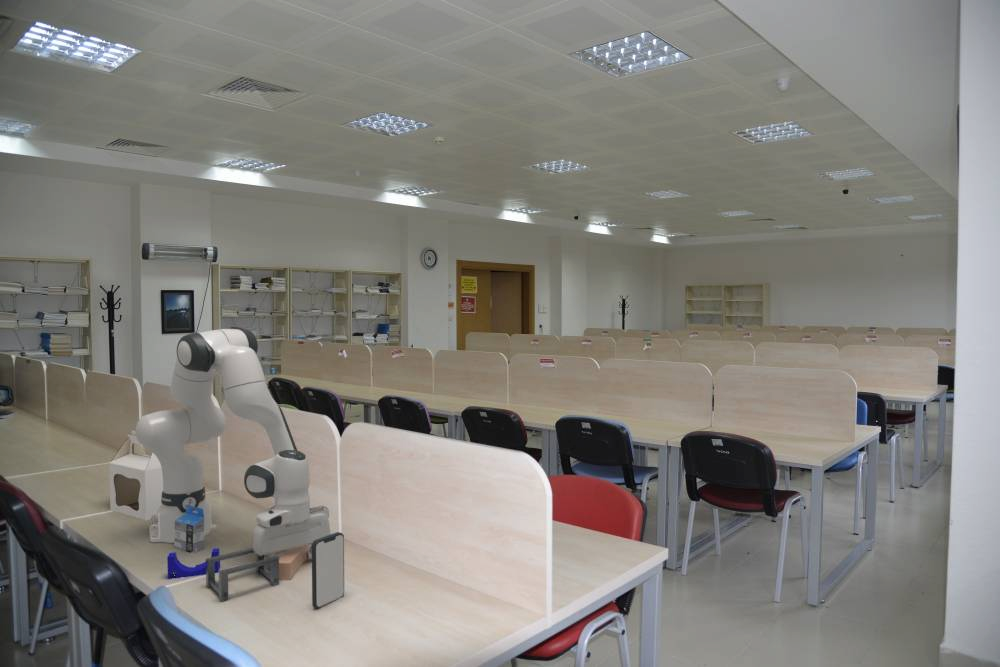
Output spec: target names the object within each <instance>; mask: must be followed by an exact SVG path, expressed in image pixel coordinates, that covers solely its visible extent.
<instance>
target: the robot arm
mask: <svg viewBox="0 0 1000 667" xmlns="http://www.w3.org/2000/svg"><path fill="white" fill-rule="evenodd" d="M258 349H259V344H258V339H257V337H256V335H255V333H254V332H252V331H251V330H250V329H246V328H242V327H237V328H219V329H218V328H217V329H214V330H212V329H211V330H206V331H201V332H192V333H191V332H190V333H188V334H185V335H183V336H182V337H180V339H179V340H178V342H177V346H176V356H177V358H176V361H175V365H174V368H173V373H172V377H171V383H170V387H169V392H170V395H171V397H172V398H173V399H174V401H176V402H177V403H179V404H181V405H183V406H184V407H181V408H176V409H175V408H174V409H165V410H158V411H155V412H151V413H147V414H145V415H142V416H141V417H140V418H139V420H138V422H137V423H136V425H135V429H134V430H135V433H136V437H137V440H138V441H139V443H140V445H141V446H142V447H143V448H146V449H147V450H149V451H150V452H151V453H152V452H153V453H154V454H155V455H156V457H157V458H158V460H159V462H160V464H161V467H162V475H163V491H162V495H161V503H162V504H161V506H160V507H159V509H158V510H157V515H151V519H150V520H151V521H150V522H151V523H152V524H150V525H149V527H148V531H149V533H148V534H149V543H168V544H169V543H170V544H171V543H173V544H174V540H175V520H177V519H178V518H180V517H181V516H182V515H183V514H185V513H186V508H185V505H189V506H194V507H198V508H202V509H203V512H204V537H205V536H206V535H208V534H209V533H210V532H211V531H212V530H214V529H215V528H217V524H214V523H212V511H211V503H209V502H208V501H206V487H205V486H204V464H203V463H202V461H201V460H200V459H199V458H198V457H195V456H193V455H191V454H188V453H186V451H185V445H190V444H196V443H202V442H203V443H204V442H208V441H210V440H213V439H217V438H219V437H221V436H222V435H223V433H224V431H225V430H226V428H227V427H226V426H227V418H226V416H225V414H224V412H223V411H222V409H220V408H219V407H217V406H216V405H215V403H214V402H213V399H212V390H213V385H214V380H215V376H216V371H217V372H218V373H219V375H220V378H221V384H222V389H223V394H224V398H225V402H226V405H227V407H228V409H229V411H230V412H231V413H233V414H234V415H235V416H237V417H238V418H241V419H245V420H249V421H251V422H255V423H256V424H259V425H260V426H262V427H263V429H265V431H266V434H267V436H268V438H269V441H270V444H271V446H272V449H273V452H274V456H272V457H270V458H268V459H266V460H262V461H260V462H256V463H253V464H252V465H250V466H248V468H247V469H246V471H245V473H244V477H243V478H244V479H243V483H244V484H243V486H244V488H245V490H246V492H247V493H248V494H249V495H250V496H251V497H253V498H255V499H266V498H268V499H269V498H274V505H272V506H271V507H269V508H267V509H266V510H263V511H262V512H260V513H258V514H257V515H256V522H257V523H258V524H257V525H256V526H255V528H254V530H253V537H252V538H253V541H252V548H253V550H254V553H255V554H256V553H257V554H258V555H260V556H262V555H264V556H266V555H267V557H268V558H272V557H276V556H277V554H276V553H278V552H281V551H287V550H288V549H290V548H294V547H298V546H302V545H306V544H310V549H309V551H307V552H306V558H307V559H306V560H308V561H309V560H312V543H313V542H314V541H315V540H316V539H319V538H322V537H325V536H328V535H331V528H330V522H329V519H330V518H329V517H330V509H329V508H328V507H327V506H325V505H319V506H315V507H311V504H310V502H311V501H310V500H311V499H310V498H311V497H310V493H309V488H310V467H309V466H310V465H309V462H308V461H309V460H308V458H307V456H306V454H305V453H304V452H302V451H300V450H298V448H297V446H296V443H295V441H294V437H293V435H292V433H291V430H290V426H289V424H288V422H287V419H286V416H285V414H284V412H283V410H282V408H281V406H280V404H279V403H278V402H277V401H276V400H275V399H274V398H273V395H272V394H271V393H270V389H269V388H268V384H267V380H266V377H265V373H264V370H263V367H262V365H261V362H260V360H259V357H258V355H257V353H258V351H259V350H258ZM192 512H195V513H198V512H197V511H195V510H192ZM153 523H154V524H153Z"/></svg>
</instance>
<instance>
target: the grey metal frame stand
mask: <svg viewBox="0 0 1000 667" xmlns="http://www.w3.org/2000/svg"><path fill="white" fill-rule="evenodd" d="M254 553H255V552H254V550H253V547H249V548H246V549H241V550H238V551H237V550H236V551H233V552H228V553H224V554H219V556H215V557H211V556H210V557H207V558H205V562H206V575H205V578H206V579H205V580H206V581H205V583H206V584H205V585H206V586H205V587H206V588H208V589H210V588H213V589H214V590H215V591H216V593H218V596H219V597H218V598H219V599H218V600H219V602H221V603H222V602H226V601H229V575H231V574H234V573H238V572H239V573H240V572H243V571H246V570H250V569H255V572H256V573H257V574H262V575H264V576H265V577H266V578H267V579H269V580H270V586H272V587H276V586H279V585H280V580H279V558H280V557H278V556H277V555H276V556H273V557H272V558H269V557H268V558H265V555H262V556H260V555H258V554H257V553H255V561H254V562H249V563H243V564H241V565H237V566H233V567H229V568H224V569H221V570H220V569H219V572H218V582H217V581H216V573H215V562H217V561H220V562H222V561H225V560H229V559H234V558H237V557H241V556H245V555H249V554H250V555H251V554H254ZM269 564H270V565H269ZM266 565H269V566H270V567H269V568H270V569H267V568H266V567H265V566H266Z"/></svg>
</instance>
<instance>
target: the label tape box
mask: <svg viewBox="0 0 1000 667" xmlns="http://www.w3.org/2000/svg"><path fill="white" fill-rule="evenodd" d="M185 508H186V513H185V514H183V515H182V516H181V517H180V518H178V519H177V520H175V540H174V543H173V544H174V546H173V547H174V549H175V550H180V551H183V552H186V553H190V554H195V553H198V552H200V551H202V550H205V536H204V512H203V509H202V508H198V507H194V506H189V505H185ZM192 510H195V511H197V512H198V513H195V512H192Z"/></svg>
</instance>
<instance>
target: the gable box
mask: <svg viewBox="0 0 1000 667" xmlns="http://www.w3.org/2000/svg"><path fill="white" fill-rule="evenodd" d="M135 430H136V429H133V430H131V433H127V436H128V438H127V439H126V440H125V441H124V442H123V444H122V445H121V446H120V448H119V449H118V450H117V452H116V453H115V455H114V456H113V458H112V459H111V461H110V462H109V466H108V467H109V498H110V499H109V501H110V502H109V507H110V508H109V510H110V511H114V512H116V513H120V514H123V515H127V516H129V517H133V518H135V519H139V520H143V521H149V520H151V515H157V510H158V509H159V507H160V506H161V504H162V503H161V495H162V491H163V475H162V467H161V464H160V462H159V460H158V458H157V457H156V455H155V454H154V453H153V452H152V451H151V455H148V454H147V453H146V451H145V450H144V447H143V446H142V445H141V444H140V443H139V441H138V440H137V437H136V433H135ZM135 503H138V510H136V509H134V508H133V507H131V506H130V505H132V504H135Z"/></svg>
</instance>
